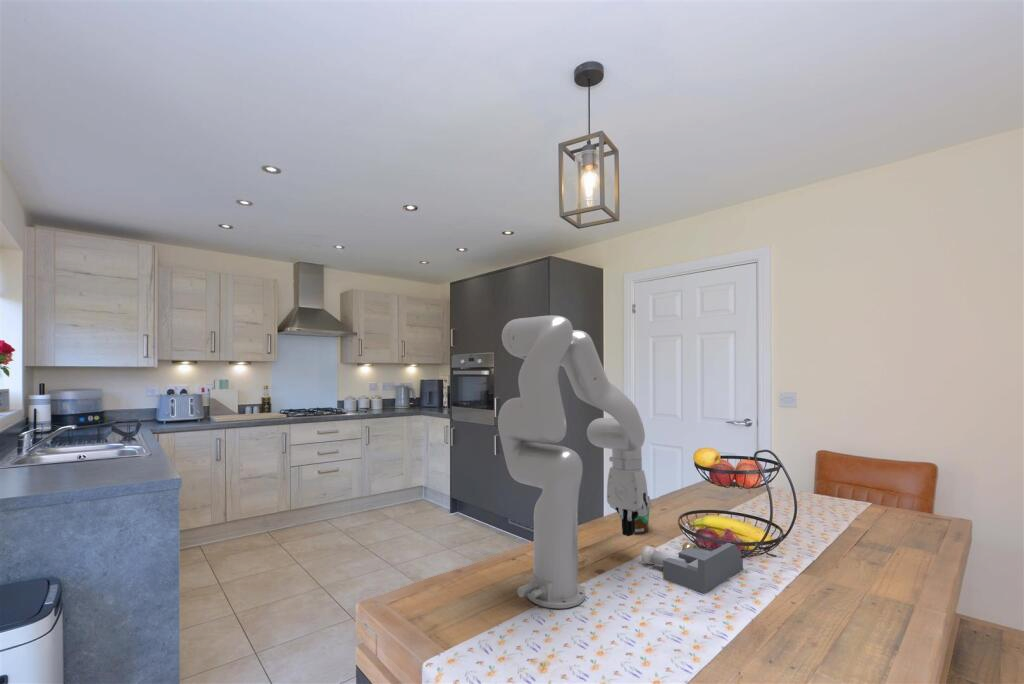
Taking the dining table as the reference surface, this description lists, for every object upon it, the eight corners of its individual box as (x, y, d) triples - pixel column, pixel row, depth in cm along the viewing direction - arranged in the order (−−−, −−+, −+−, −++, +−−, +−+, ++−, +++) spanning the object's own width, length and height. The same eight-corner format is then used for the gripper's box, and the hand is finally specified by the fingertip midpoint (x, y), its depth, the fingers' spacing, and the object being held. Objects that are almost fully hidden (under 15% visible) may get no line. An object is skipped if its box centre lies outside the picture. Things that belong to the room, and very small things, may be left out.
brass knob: (721, 572, 114) (721, 555, 115) (681, 560, 122) (681, 544, 122) (729, 568, 117) (728, 551, 117) (689, 556, 125) (689, 540, 125)
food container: (657, 536, 140) (656, 501, 141) (635, 536, 140) (635, 501, 141) (646, 523, 153) (645, 491, 153) (626, 523, 153) (626, 491, 153)
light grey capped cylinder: (679, 577, 112) (679, 559, 112) (641, 564, 119) (640, 547, 119) (687, 572, 114) (687, 555, 115) (649, 559, 122) (649, 543, 122)
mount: (704, 593, 104) (704, 560, 104) (663, 578, 111) (662, 548, 112) (742, 568, 117) (742, 539, 118) (703, 557, 125) (703, 529, 125)
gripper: (595, 461, 129) (596, 530, 128) (644, 470, 118) (645, 546, 117) (611, 457, 134) (613, 524, 133) (660, 465, 123) (661, 538, 122)
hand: (628, 534), depth 125 cm, fingers closed
